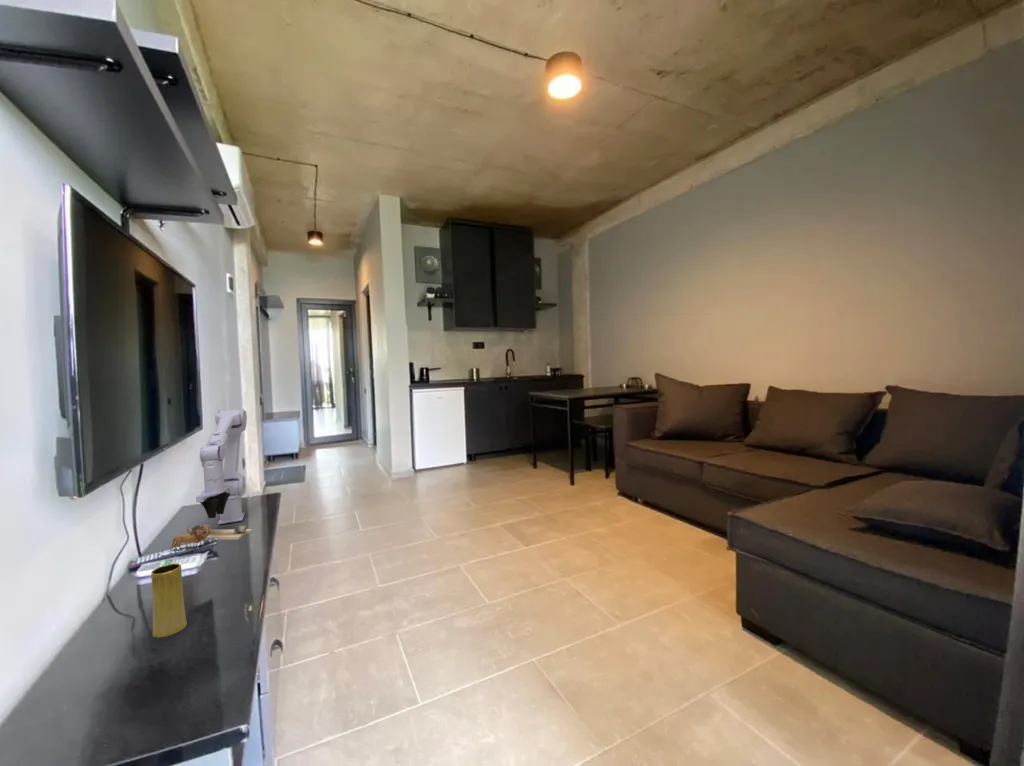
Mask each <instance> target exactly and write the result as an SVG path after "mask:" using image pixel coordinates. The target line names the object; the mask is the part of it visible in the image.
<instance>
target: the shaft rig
mask: <svg viewBox="0 0 1024 766" xmlns="http://www.w3.org/2000/svg"><path fill="white" fill-rule="evenodd" d="M200 527H201V525H200V524H197V525H194V526H188V527H187V529H186V532H187V533H188V534H191V533H193V532H194V531H195V530H197V529H199V528H200ZM247 527H248V526H247V525H243V524H242V523H241V524H237V525H236V526H234V527H233V529H232V528H231V529H227V528H226V529H225V528H224V529H221V528H220V529H210V530H211V532H210V534H209V536H207V537H206V538H218V539H217V540H240V539H242V538H243V537H242V536H244V535H246V534H247V533H249V532H251V531H252V532H253V528H247ZM252 532H251V533H252ZM188 534H186V535H188ZM249 534H250V533H249ZM247 535H248V534H247ZM247 535H246V536H247ZM241 537H242V538H241ZM244 537H245V536H244ZM239 538H240V539H239Z"/></svg>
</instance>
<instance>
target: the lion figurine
mask: <svg viewBox="0 0 1024 766" xmlns="http://www.w3.org/2000/svg"><path fill="white" fill-rule="evenodd" d="M211 530H212V529H211V526H210V525H209V524H203V525H200V528H199V529H197V530H195V531H194V532H193V533H191V534H189V533H188V535H187V534H177V535H176V536H175V537H174V538H173V540H172V542H171V547H170V549H171V548H172V549H173V547H176V546H177V547H180V548H181V545H182V543H185V544H192V543H193V544H194V543H195V544H196V543H199V542H202V541H205V540H206V539H205V538H206V537H207V536H209V534H210V532H211ZM177 547H176V548H177Z"/></svg>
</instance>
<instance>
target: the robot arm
mask: <svg viewBox="0 0 1024 766" xmlns="http://www.w3.org/2000/svg"><path fill="white" fill-rule="evenodd" d="M214 417H215V418H214V421H215V424H216V430H215V431H213V432H212V433H211V434H210V437H209V438H208V440H207V443H206V444H205V445H204V446H203V447H201V448H200V450H199V459H200V461H201V462H200V463H201V467H202V468H203V481H204V482H203V483H204V490H203V491H202V493H201V494H199V495H198V496H197V495H196V497H195V501H196V503H200V504H201V505H202V507H203V508H204V510H205V512H206V515H207V517H208V519H215V518H216V516H217V515H219V518H220V519H219V520H218V522H217V524H218V525H223V524H228V523H229V524H230V523H235V522H241V521H243V520H244V516H245V512H243V508H242V496H243V495H244V494H245V493H246V490H247V489H246V486H247V484H246V477H245V476H244V475H243V474H241V473H240V472H238V470H239V461H240V460H239V458H240V446H241V445H240V444H241V436H242V433H243V432H244V431H246V429H247V424H248V423H247V422H248V416H247V411H246V410H245V409H244V408H241V409H228V410H227V409H221V410H220V409H218V410H216V412H215V414H214Z"/></svg>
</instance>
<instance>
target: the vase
mask: <svg viewBox="0 0 1024 766" xmlns="http://www.w3.org/2000/svg"><path fill="white" fill-rule="evenodd" d="M182 576H183V575H182V564H180V563H176V562H175V563H168V564H164V565H161V566H158V567H156V568H155V569H153V570H152V571H151V573H150V577H151V579H150V580H151V591H152V592H151V593H152V633H151V634H152V637H155V638H165V637H170V636H172V635H175V634H177V633H179V632H180V631H182V630H185V628H186V627H187V625H188V621H187V617H186V609H185V600H184V599H185V598H184V589H183V588H184V587H183V577H182Z"/></svg>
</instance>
